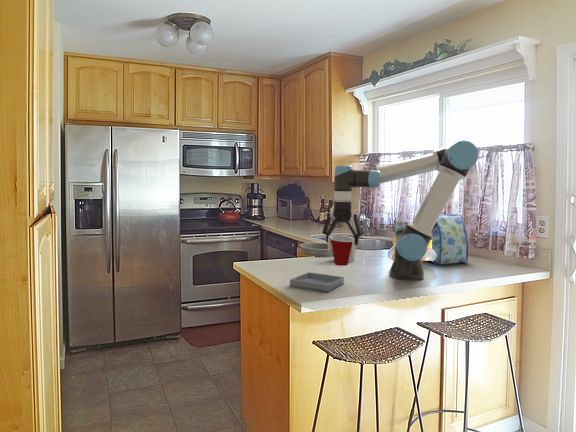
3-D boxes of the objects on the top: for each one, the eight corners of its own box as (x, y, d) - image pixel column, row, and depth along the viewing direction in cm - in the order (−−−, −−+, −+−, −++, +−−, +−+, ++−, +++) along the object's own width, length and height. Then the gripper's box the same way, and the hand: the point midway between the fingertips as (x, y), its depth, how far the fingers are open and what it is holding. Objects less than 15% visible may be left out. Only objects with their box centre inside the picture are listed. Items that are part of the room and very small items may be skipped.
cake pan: (350, 254, 261) (350, 246, 261) (322, 259, 244) (322, 250, 243) (318, 248, 278) (319, 241, 278) (290, 252, 261) (290, 244, 261)
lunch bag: (444, 258, 256) (447, 212, 254) (469, 263, 242) (472, 215, 240) (417, 260, 245) (419, 213, 243) (441, 266, 231) (444, 216, 229)
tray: (343, 284, 188) (343, 277, 187) (327, 292, 173) (327, 285, 173) (308, 278, 195) (308, 272, 195) (289, 286, 181) (290, 279, 181)
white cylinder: (342, 258, 246) (343, 236, 245) (358, 260, 241) (359, 238, 240) (333, 260, 239) (334, 237, 237) (349, 263, 233) (350, 239, 232)
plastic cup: (346, 268, 189) (346, 240, 188) (324, 265, 196) (324, 237, 195) (358, 264, 198) (359, 237, 197) (337, 261, 205) (337, 235, 203)
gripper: (371, 201, 192) (370, 252, 194) (322, 199, 203) (321, 247, 205) (365, 202, 186) (364, 254, 188) (315, 200, 197) (314, 250, 199)
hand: (341, 251), depth 196 cm, fingers closed on plastic cup, 11 cm apart
